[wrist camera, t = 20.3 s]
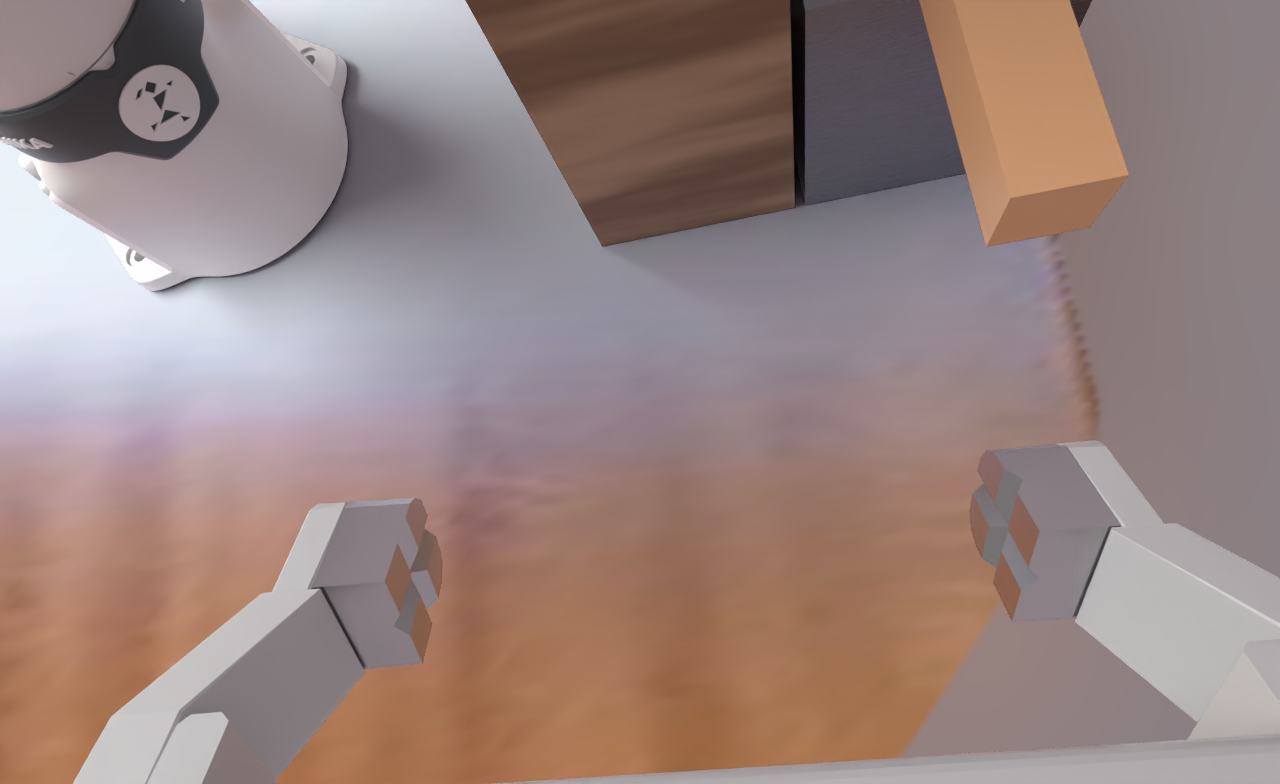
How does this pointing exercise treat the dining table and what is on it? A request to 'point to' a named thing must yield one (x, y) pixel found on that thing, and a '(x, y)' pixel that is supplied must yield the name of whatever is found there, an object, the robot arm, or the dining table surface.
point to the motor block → (869, 98)
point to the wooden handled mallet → (1025, 115)
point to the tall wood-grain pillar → (655, 105)
